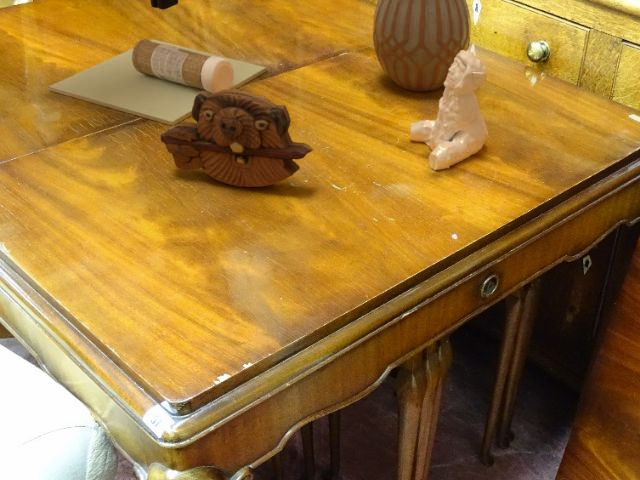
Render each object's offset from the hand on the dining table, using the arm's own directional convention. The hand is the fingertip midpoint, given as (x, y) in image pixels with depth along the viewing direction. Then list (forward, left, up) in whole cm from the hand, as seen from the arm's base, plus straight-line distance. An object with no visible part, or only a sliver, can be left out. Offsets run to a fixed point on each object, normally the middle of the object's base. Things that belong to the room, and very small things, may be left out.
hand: (165, 5), depth 97 cm
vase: (+27, +18, -11) cm, 34 cm away
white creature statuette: (+39, +2, -11) cm, 41 cm away
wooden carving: (+22, -17, -11) cm, 30 cm away
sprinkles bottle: (-6, 0, -8) cm, 10 cm away
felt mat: (-3, 0, -11) cm, 11 cm away
